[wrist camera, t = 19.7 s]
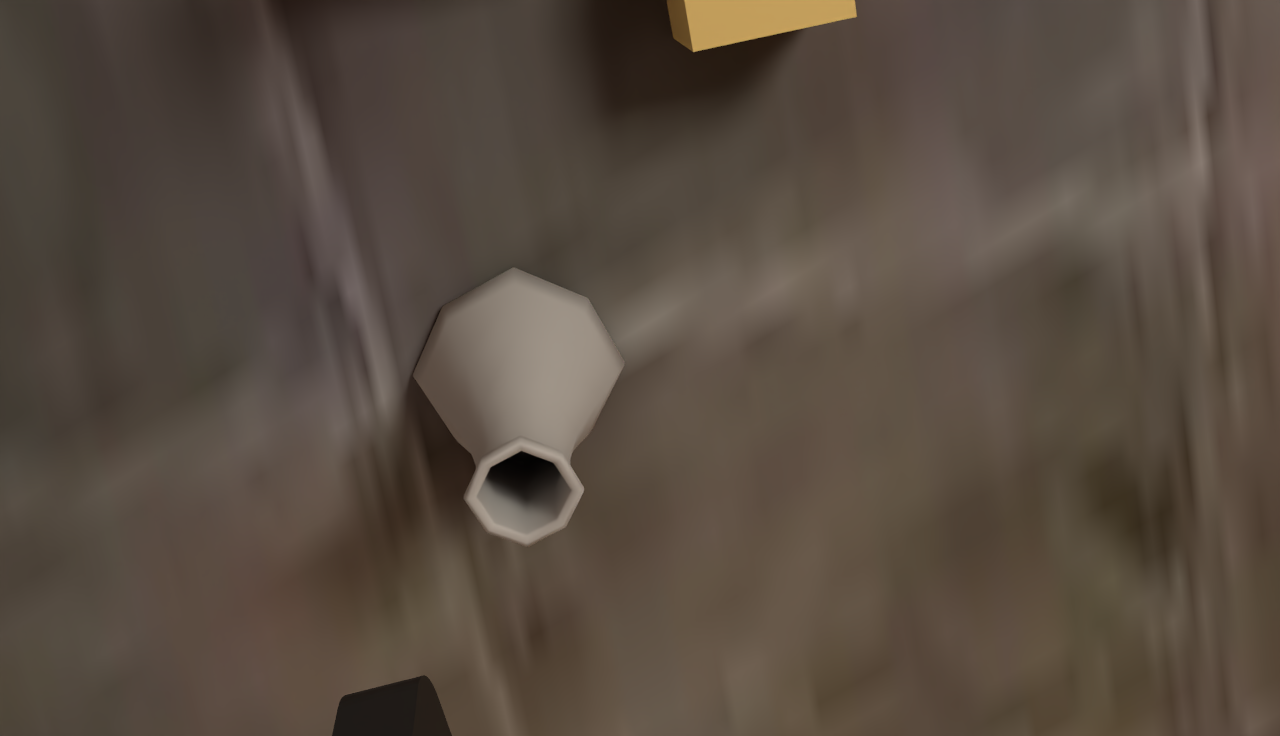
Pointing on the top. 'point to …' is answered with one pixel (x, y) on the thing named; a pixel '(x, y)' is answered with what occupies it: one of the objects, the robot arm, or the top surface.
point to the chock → (748, 19)
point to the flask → (520, 396)
